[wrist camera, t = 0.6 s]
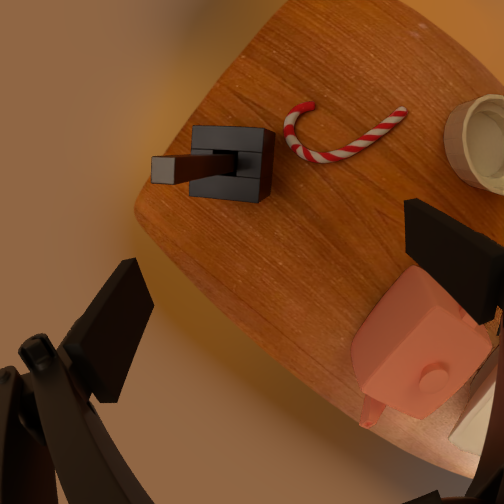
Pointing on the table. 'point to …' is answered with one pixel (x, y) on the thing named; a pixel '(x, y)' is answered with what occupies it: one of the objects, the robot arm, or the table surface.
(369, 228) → the table surface
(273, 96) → the table surface
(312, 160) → the candy cane
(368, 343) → the teapot
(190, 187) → the stick stand
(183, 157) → the stick
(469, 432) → the bowl
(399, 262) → the table surface
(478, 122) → the mixing bowl
